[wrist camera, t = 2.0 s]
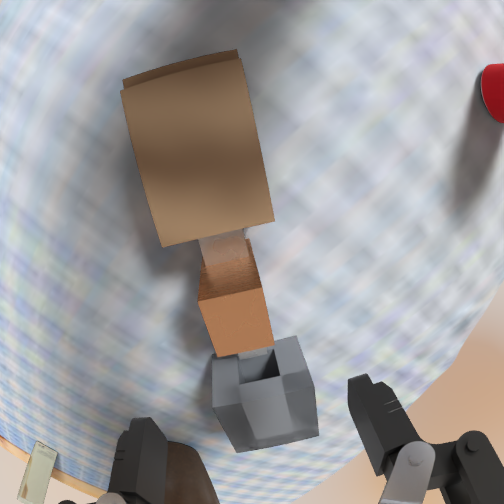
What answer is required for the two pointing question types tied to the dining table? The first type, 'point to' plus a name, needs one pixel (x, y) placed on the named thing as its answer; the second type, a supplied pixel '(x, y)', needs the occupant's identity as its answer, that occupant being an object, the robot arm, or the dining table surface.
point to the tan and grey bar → (233, 296)
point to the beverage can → (494, 90)
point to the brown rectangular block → (197, 147)
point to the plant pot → (187, 477)
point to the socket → (265, 397)
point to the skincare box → (37, 475)
